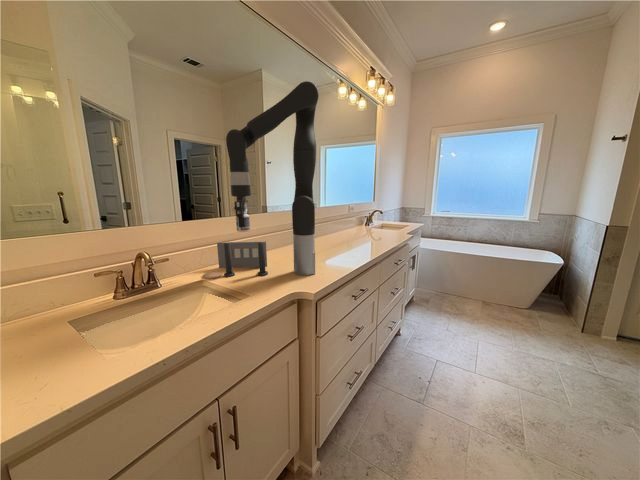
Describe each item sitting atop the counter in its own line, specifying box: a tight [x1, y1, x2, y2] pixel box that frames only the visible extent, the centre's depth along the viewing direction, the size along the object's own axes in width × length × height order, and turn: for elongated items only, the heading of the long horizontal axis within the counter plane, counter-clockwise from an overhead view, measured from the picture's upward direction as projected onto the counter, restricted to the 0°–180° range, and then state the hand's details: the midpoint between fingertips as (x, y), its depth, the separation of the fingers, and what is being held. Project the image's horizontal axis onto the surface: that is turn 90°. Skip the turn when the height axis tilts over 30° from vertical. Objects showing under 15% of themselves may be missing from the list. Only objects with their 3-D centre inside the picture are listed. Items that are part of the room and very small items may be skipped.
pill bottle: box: [235, 209, 251, 233], centre depth 104 cm, size 5×5×9 cm
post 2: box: [257, 241, 269, 277], centre depth 108 cm, size 4×4×14 cm
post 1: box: [223, 243, 236, 278], centre depth 107 cm, size 4×4×14 cm
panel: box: [216, 241, 268, 269], centre depth 118 cm, size 22×2×12 cm, turn 95°
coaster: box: [201, 271, 224, 280], centre depth 108 cm, size 8×8×1 cm
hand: (243, 226), depth 105 cm, fingers closed on pill bottle, 5 cm apart
